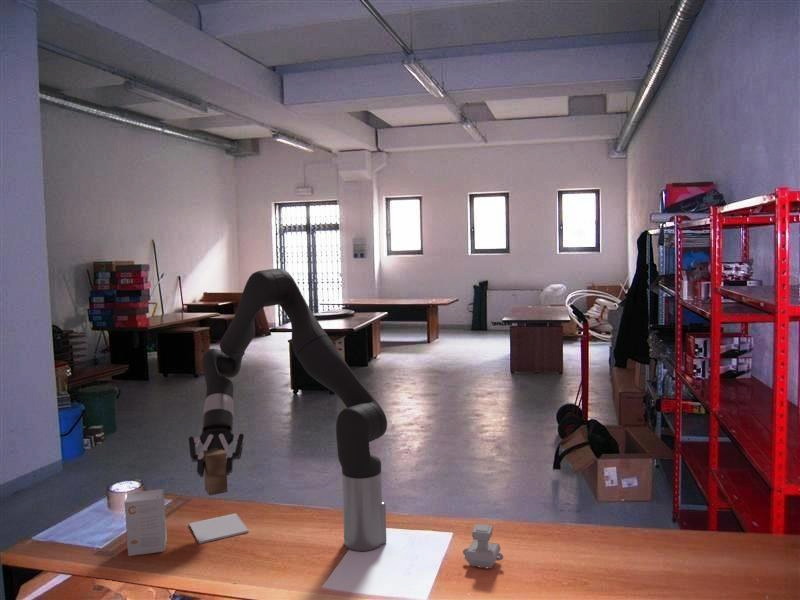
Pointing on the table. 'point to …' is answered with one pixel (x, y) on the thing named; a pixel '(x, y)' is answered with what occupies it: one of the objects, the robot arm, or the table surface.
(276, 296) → the robot arm
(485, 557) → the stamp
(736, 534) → the table surface
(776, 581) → the table surface
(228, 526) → the grey mat
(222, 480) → the walnut block
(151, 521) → the small box
